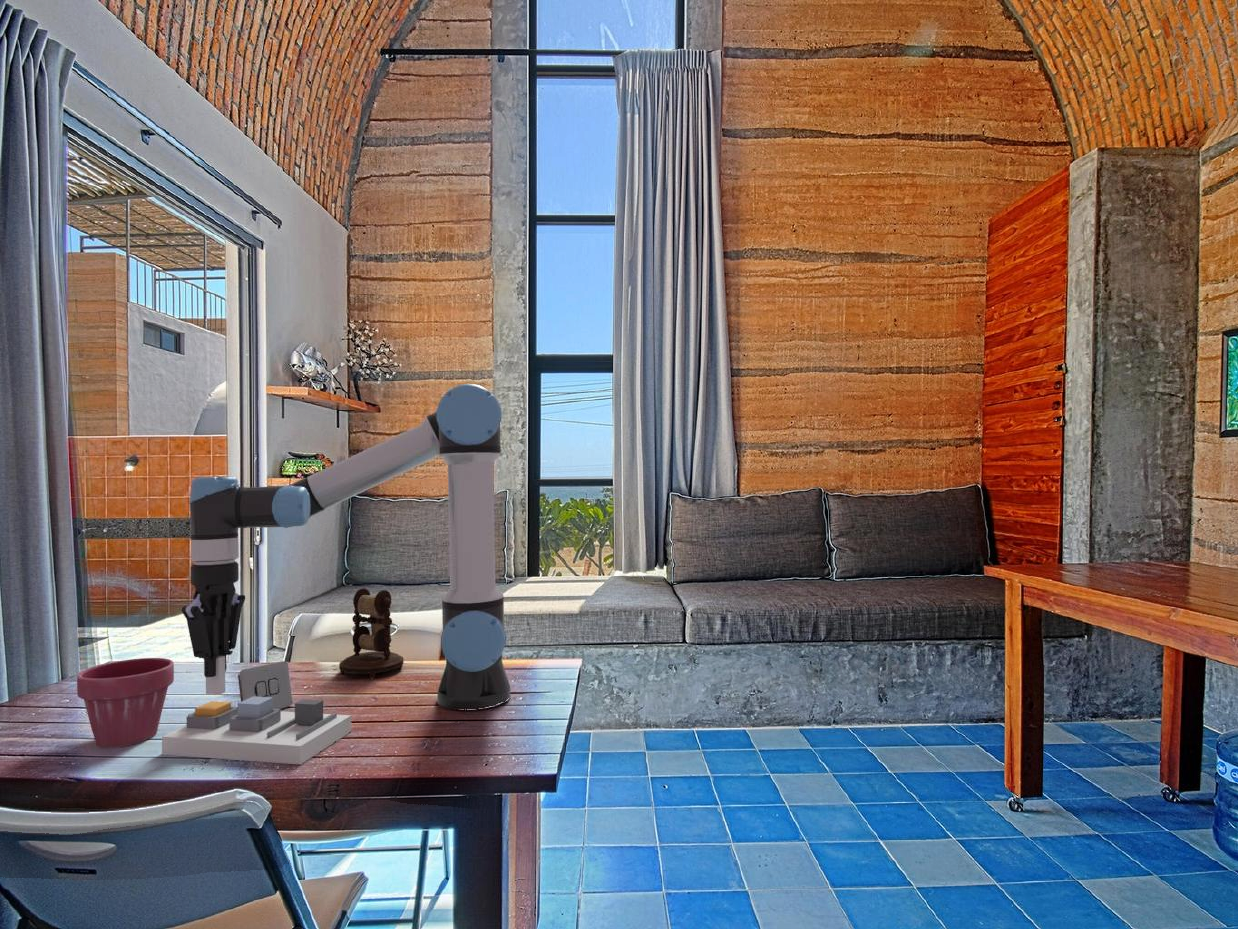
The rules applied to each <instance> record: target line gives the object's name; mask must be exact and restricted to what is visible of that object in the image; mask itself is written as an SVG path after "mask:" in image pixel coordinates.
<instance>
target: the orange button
mask: <svg viewBox="0 0 1238 929" xmlns="http://www.w3.org/2000/svg"><path fill="white" fill-rule="evenodd" d="M231 706H232V702H231V701H219V700H218V701H215V700H214V701H213V700H212V701H209V702H206V703H204V704H202V705H199V706H197V707H195V708H194V712H195V715H200V716H217V715H219V714H222V713H224V712H226V711H228V710H230V709H231Z"/></svg>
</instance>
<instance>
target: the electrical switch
mask: <svg viewBox="0 0 1238 929" xmlns="http://www.w3.org/2000/svg"><path fill="white" fill-rule="evenodd" d="M237 677H238V678H237V679H238V688H239V696H240V697H239V698H240V702H242V701H244V700H246V699H249V698H251V697H253V696H255V697H273V709H286V708H288V707H291V706H292V705H293V703H294V702H293V695H292V687H291V680H290V672H289V664H288V661H286V660H283V661H277V662H272V663H268V664H263V665H257V666H253V667H248V668H242V669H241V670H240V671H239V674H238V675H237Z"/></svg>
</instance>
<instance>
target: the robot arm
mask: <svg viewBox="0 0 1238 929" xmlns="http://www.w3.org/2000/svg"><path fill="white" fill-rule="evenodd" d="M502 416H503V415H502V408H501V404H500V403H499V401H498V399H497V397H496V396H495V395H494V393H492V392H491V391H490V390H489V389H487V388H485V387H483V386H482V385H479V384H478V385H477V384H473V383H464V384H459V385H457V386H456V385H455V386H454V387H452V388H450V389H449V390H448V391H447V392H445V393H444V395H442V397H441V398H440V401H439V402H438V405H437V408H436V411H435V412H432V413H431V414H428V415H427V416H425V417H424V419H423V422H422V423H421V424H419V425H417V426H415V427H413V428H410V429H408V430H406V431H403V432H402V433H400V434H397V435H395V436H393V437H391V438H389V439H387V440H384V441H382V442H380V443H378V444H375V445H373V446H372V447H369V448H367V449H365V450H363V451H360V452H358V453H356V454H354V455H352V456H349V457H347V458H346V459H343V460H341V461H339V462H336V463H335V464H332V465H331V466H329V467H326V468H324V469H321V470H319V471H317V472H315V473H313V474H311V475H308V476H307V477H305V478H302V479H299V480H297V481H295V482H294V483H291V484H289V485H284V486H283V485H282V486H281V485H280V486H279V485H278V486H254V487H253V486H251V487H248V486H240V484H239V481H238V480H239V479H238V478H237V477H235V476H200V477H199V476H198V477H195V478H194V479H193V480H191V484H190V495H189V498H190V499H189V501H188V503H189V513H190V514H189V519H190V520H189V521H190V523H189V525H190V561H191V562H193V563H194V564H193V563H192V564H191V566H189V567H190V585H192V586H193V587H194V589H195V590H194V594H193V597H192V599H193V601H192V602H191V603H190V604H189V605H184V606H182V608H181V612H182V614H183V616H184V617H185V619H186V624H187V628H188V633H189V638H190V643H191V648H192V653H193V656H194V658H199V659H203V668H204V669H203V671H204V672H203V675H204V677H205V695H216V696H217V695H223V694H224V693H226V672H227V662H228V660H227V656H231V655H232V654H233V649H235V648H236V646H237V641H238V633H239V627H240V626H239V625H240V620H241V614H242V609H243V605H244V603H245V601H246V595H245V594H239V593H237V591H236V590H237V589H236V587H235V585H234V584H235V583H238V581H239V577H240V575H239V574H240V573H239V563H238V561H236V560H237V559H238V558H239V557H240V555H239V554H240V553H239V552H240V550H239V548H240V547H239V529H247V528H248V529H249V528H255V529H256V528H284V529H287V528H293V527H303V526H306V524H307V523H308V521H309V520H310V518H311V517H313V516H315V515H317V514H319V513H321V512H323V511H325V510H327V509H329V508H331V507H334V506H336V505H337V504H340V503H342V502H343V501H346V500H348V499H351V498H353V497H354V496H356V495H359V494H361V493H363V492H365V491H367V490H370V489H372V488H375V487H376V486H378V485H380V484H383V483H384V482H387V481H389V480H390V479H393V478H395V477H398V476H400V475H401V474H404V473H405V472H408V471H410V470H412V469H415V468H417V467H419V466H421V465H423V464H425V463H427V462H430V461H432V460H433V459H435V458H437V457H440V458H441V459H442V460H443V462H445V463H446V465H447V490H448V493H447V496H448V497H447V498H448V499H447V500H448V538H449V539H448V543H449V544H448V545H449V547H448V548H449V554H448V555H449V588H448V589H449V590H448V591H447V592H445V594H444V596H442V598H441V601H442V602H441V606H442V610H441V611H442V614H441V615H442V616H441V617H442V620H441V621H442V632H441V635H440V648H441V651H442V653H443V655H444V657H445V667H444V670H443V674H442V676H441V680H440V683H439V686H438V688H437V700H436V701H437V702H436V703H437V704H438V706H440V705H441V706H442V708H444V707H445V708H444V709H447V708H448V709H447V710H451V709H456V710H455V711H460V710H459V709H464V710H465V709H466V710H467V709H479V708H485V707H489V706H493V705H496V704H498V703H501V702H505V701H506V700H507V699H508V698H509V697H510V698H511V684H510V682H509V678H508V675H507V673H506V669H505V667H504V663H503V652H504V649H505V647H506V643H507V633H506V631H505V606H504V601H505V600H504V593H502V591H500V590H499V589H498V588H497V586H496V553H495V552H496V550H495V549H496V548H495V547H496V545H495V502H494V497H495V496H494V492H495V491H494V464H495V461H496V460H498V458H499V457H500V456H501V454H502V451H501V449H502V448H501V422H502ZM441 706H440V707H441Z"/></svg>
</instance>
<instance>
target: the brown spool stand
mask: <svg viewBox="0 0 1238 929" xmlns="http://www.w3.org/2000/svg"><path fill="white" fill-rule="evenodd" d="M352 601H353V607H354V611H353V613H354V615H353V616H352V622H353V624H354V629H353V631H354V632H353V635H352V644H353V647H354V648H353V653H354V654H353V655H349V656H348V657H346V658H345V659H343V660H341V661H340V662H339V666H338V668H339V671H340V674H341V673H344V674H345V673H347V674H354V675H356V674H357V675H360V674H362V675H365V674H366V675H367V674H369V677H370V679H372V678H373V679H375V676H376V674H377V673H384V672H388V671H392V670H395V669H399V668H401V669H402V668H403V665H404V664H405V663H404V657H403V656H401V655H399V654H398V653H396V652H392V651H391V649H390V647H391V645H390V644H391V643H392V637H391V636H392V635H391V626H392V624H393V619H392V617H390V616H391V611H390V609H391V605H392V595H391V593H390V591H388V590H386V589H382V590H380V591H378V592H377V594H376V595H372V594H371V593H370V591H369V590H368V589H367V588H360V589H358V590H357V591H356V593H355V594H354V597H353V600H352ZM363 615H365V616H363ZM366 616H369V617H366ZM361 623H367V624H370V627H371V631H370V629H369V627H367V626H366V625H361ZM361 650H364V651H365V652H361ZM366 651H368V652H366Z"/></svg>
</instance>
